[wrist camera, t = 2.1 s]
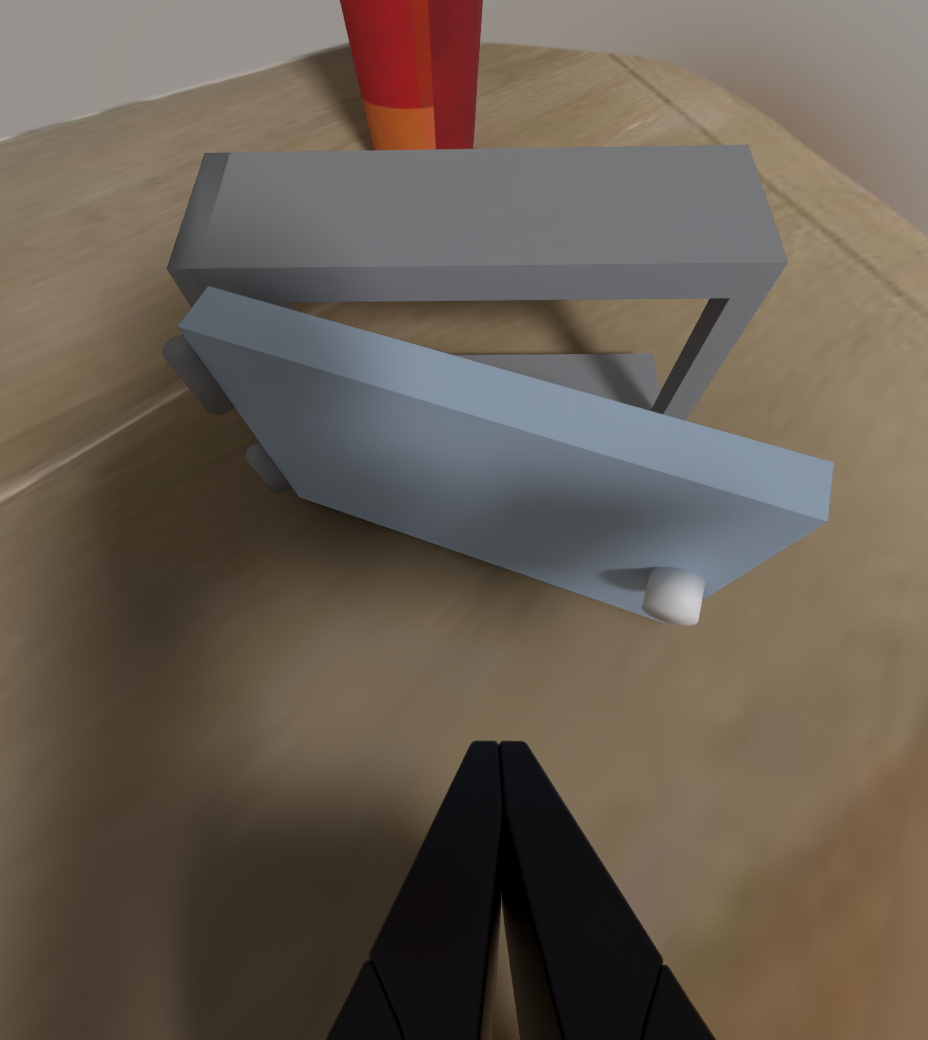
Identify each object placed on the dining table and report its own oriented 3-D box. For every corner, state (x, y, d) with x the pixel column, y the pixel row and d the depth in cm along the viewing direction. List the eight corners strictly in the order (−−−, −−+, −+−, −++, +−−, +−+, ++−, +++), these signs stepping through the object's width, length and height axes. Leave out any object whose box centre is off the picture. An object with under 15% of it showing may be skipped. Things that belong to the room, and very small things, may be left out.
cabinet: (659, 459, 23) (788, 262, 14) (290, 460, 24) (166, 268, 14) (645, 370, 25) (748, 144, 16) (305, 372, 26) (204, 152, 16)
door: (658, 653, 20) (822, 573, 10) (265, 513, 22) (117, 350, 13) (673, 588, 21) (833, 462, 11) (294, 461, 23) (176, 276, 14)
